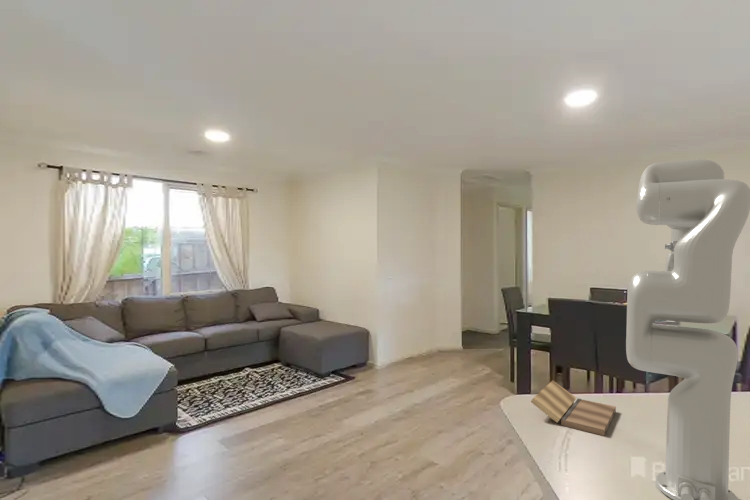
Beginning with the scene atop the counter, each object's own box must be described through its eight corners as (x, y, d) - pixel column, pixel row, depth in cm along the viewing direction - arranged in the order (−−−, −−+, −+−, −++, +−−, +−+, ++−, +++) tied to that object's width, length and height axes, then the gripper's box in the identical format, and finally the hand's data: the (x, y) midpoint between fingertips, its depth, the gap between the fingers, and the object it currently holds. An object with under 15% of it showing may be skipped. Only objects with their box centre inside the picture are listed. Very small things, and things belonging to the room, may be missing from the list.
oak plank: (557, 423, 112) (560, 418, 111) (530, 401, 116) (533, 397, 115) (573, 401, 128) (576, 398, 127) (550, 383, 132) (552, 380, 131)
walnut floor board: (604, 435, 105) (604, 429, 105) (561, 425, 111) (561, 419, 111) (615, 411, 121) (615, 406, 121) (577, 403, 127) (577, 398, 127)
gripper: (650, 248, 118) (649, 309, 118) (730, 249, 109) (728, 315, 109) (649, 248, 125) (648, 306, 125) (725, 249, 115) (724, 311, 115)
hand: (686, 310), depth 117 cm, fingers open, 9 cm apart
